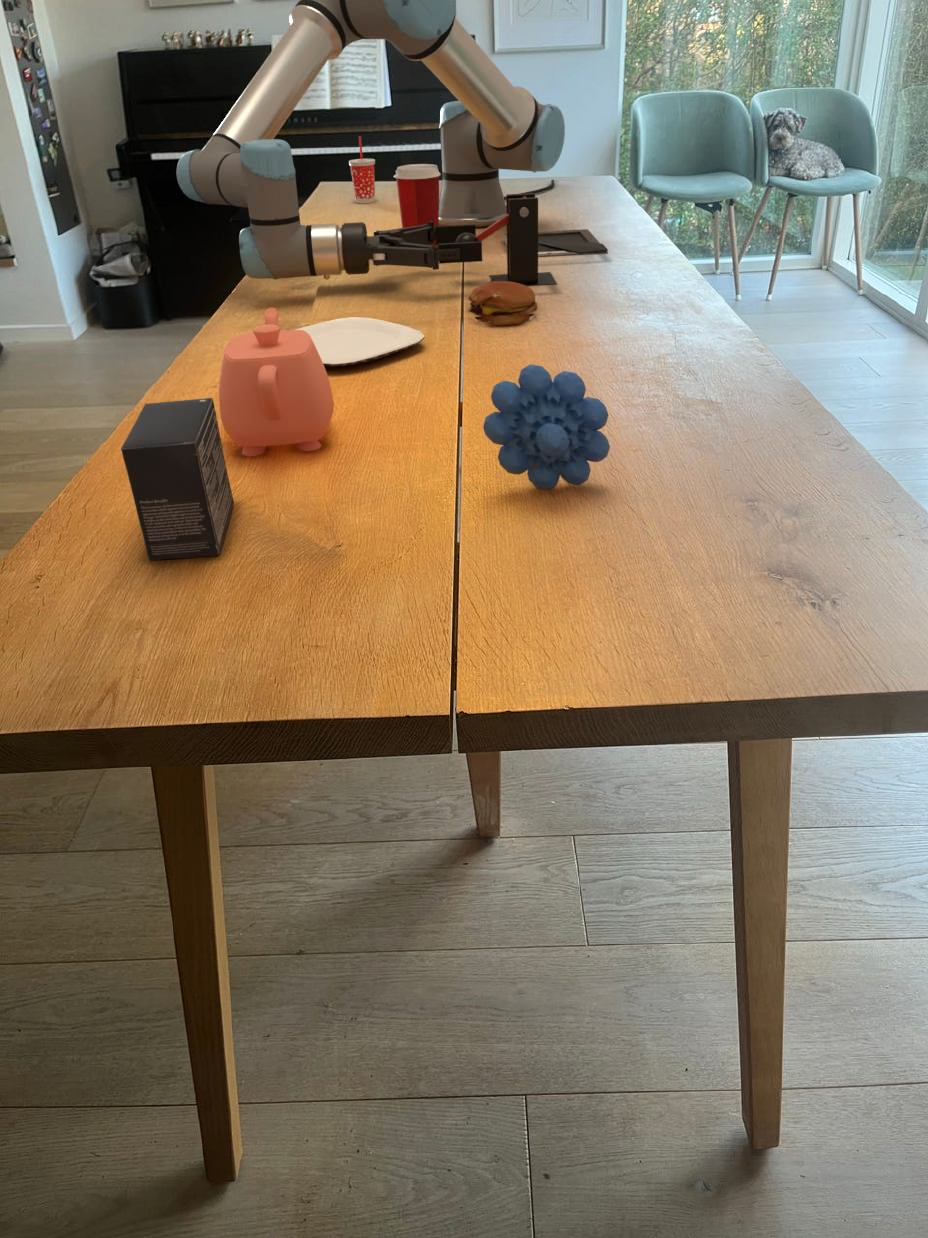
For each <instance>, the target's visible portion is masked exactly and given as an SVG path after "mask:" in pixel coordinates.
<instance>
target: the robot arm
mask: <svg viewBox="0 0 928 1238" xmlns="http://www.w3.org/2000/svg"><path fill="white" fill-rule="evenodd" d="M289 23H290V25H288V27H287V29H286V30H285V32H284V33H283V35H282V36H281V37H280V39H279V40H278V42H277V43H276V44H275V46H274V47H273V48H272V50H271V52H270V53H269V54H268V56H267V58H266V59H265V60H264V61H263V63H262V65H261V66H260V68H259V69H258V70H257V71H256V73H255V75H254V76H253V77H252V79H251V80H250V82H249V83H248V85H247V86H246V88H245V89H244V90H243V92H242V93H241V95H240V96H239V97H238V99H237V100H236V101H235V103H234V104H233V106H232V107H231V109H230V110H229V111H228V113H227V114H226V116H225V118H224V119H223V121H222V122H221V123H220V125H219V126H218V128H217V129H216V130H215V132H214V133H213V134H212V136H211V137H210V139H209V140H208V141H207V142H206V144H205V145H204V147H203V148H202V149H199V148H196V149H193V150H188V151H187V152H185V153H183V154H182V155H181V157H180V158H179V160H178V162H177V166H176V179H177V184H178V186H179V188H180V190H181V191H182V192H183V194H184V195H185V196H186V197H187V198H189V199H190V200H192V201H195V202H200V203H204V204H206V205H223V206H233V207H240V208H248V216H249V222H250V224H249V225H250V226H248V227H245V228H242V229H240V231H239V236H238V245H239V255H240V261H241V266H242V269H243V271H244V273H245V275H246V276H247V277H249V278H250V279H257V280H258V279H260V280H261V279H267V280H268V279H271V280H279V279H291V278H292V279H293V278H309V277H320V276H323V279H325V280H329V279H330V278H331V276H340V275H342V274H343V271H345V274H347V275H348V276H350V275H366V274H369V272H370V260H371V261H372V265H373V266H377V267H379V266H399V267H414V268H415V267H416V268H417V267H418V268H430V269H432V270H433V271H435V270H436V271H437V270H439V269H440V265H441V264H456V263H474V262H475V263H476V262H483V241H480V242H461V243H455V241H456V239H457V237H458V236H459V235H461V234H463V233H472V234H474V235H475V236H476V235H477V228H485V227H486V228H487V227H489V226H491V225H492V224H494V223H495V222H497V221H498V220H499V219H501V218H502V217H504V216H505V215H506V195H505V196H504V193H503V190H502V186H501V183H500V170H507V171H521V172H523V171H524V172H532V173H534V174H535V173H538V172H548V171H550V170H551V169H553V168H554V166H556V164H557V163H558V161H559V159H560V157H561V154H562V151H563V148H564V144H565V136H566V135H565V134H566V133H565V132H566V124H565V117H564V115H563V113H562V110H561V109H560V108H559V107H558V106H557V105H554V104H551V103H546V104H541V103H540V102H538V100H537V99H536V98H535V97H534V96H533V94H532V93H531V92H530V91H529V90H527V89H526V88H524V87H523V86H514V85H513V84H512V83H511V81H510V80H509V79H508V78H507V77H506V75H504V74H503V71H501V70H500V69H499V67H498V66H497V65H496V64H495V63H494V61H493V60H492V58H490V56H488V54H487V53H486V52H485V51H484V50H483V48H482V47H481V46H480V45H479V43H478V42H477V41H476V39H474V38H473V36H472V35H471V34H470V33H469V32H468V31H467V30H466V28H465V27H464V25H463V24H462V23H461V22H460V21H459V20H458V18H457V0H298V1H297V2H296V4H295V5H294V6H293V8H292V10H291V11H290V13H289ZM361 40H385V41H388V43H390V44H391V45H393V47H394V48H395V49H396V50H397V51H398V52H399V53H400V54H401V55H402V56H403V57H404V58H406V59H407V60H409V61H413V62H419V61H421V62H422V63H423V64H424V65H425V66H426V68H428V69H429V70H430V72H431V73H432V74H433V75H434V76H435V77H436V78H437V79H438V80H439V82H441V83H442V85H444V87H445V88H446V89H447V90H449V92H450V93H451V94H452V95H453V96H454V97H455V99H457V100H455V101H450V102H446V103H444V104H443V105H442V106H441V108H440V113H439V115H440V116H439V119H440V120H439V127H438V128H439V135H440V136H439V137H440V153H441V170H442V171H441V172H442V186H441V189H440V193H439V226H435V227H434V222H433V221H429V222H428V224H425V225H419V226H412V227H405V228H402V227H400V228H393V229H392V228H391V229H383V230H377V229H376V230H374V231H373V235H371V236H368V230H367V225H366V223H365V222H363V221H362V222H361V221H359V222H358V221H357V222H344V223H343V224H341V226H339V225H338V223H336V222H332V223H316V224H313V223H312V224H306V225H305V224H301V217H300V208H299V198H298V190H297V189H298V188H297V179H296V173H297V172H296V168H295V165H294V160H293V159H294V158H293V154H292V148H291V146H290V144H289V143H288V142H287V141H286V140H284V139H277V138H276V136H277V135H278V133H279V132H280V130H281V128H282V127H283V126H284V124H285V123H286V121H287V120H288V118H289V117H290V116H291V115H292V113H293V111H294V110H295V109H296V107H297V106H298V104H299V102H301V100H302V98H303V97H304V95H305V94H306V93H307V91H308V90H309V88H310V87H311V85H313V82H314V81H315V79H316V78H317V77H318V75H319V74H320V73H321V71H322V69H323V68H324V67H325V65H326V64H327V62H328V61H332V60H335V59H338V58H339V56H340V55H341V54H342V52H343V51H344V50H345V49H346V47H347V46H348V45H350V44H352V43H355V42H357V41H361ZM554 187H555V180H554V179H551V180H550V185H548V186H545V187H542V188H537V189H534V190H529V191H525V192H519V193H518V194H526V193H535V195H536V194H540V193H543V192H546V191H549V190H551V189H553V188H554ZM435 240H436V245H438V246H435V245H433V246H432V245H428V244H433V243H435Z"/></svg>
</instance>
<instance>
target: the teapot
mask: <svg viewBox="0 0 928 1238" xmlns="http://www.w3.org/2000/svg"><path fill="white" fill-rule="evenodd" d="M325 367H326V366H324V365H323V362H322V360H321V358H320V356H319V353H318V351H317V349H316V347H315V345H314V343H313V341H312V339H311V337H310V335H309V334H308V333H307V332H305V331H303V330H296V329H283V330H281V327H280V321H279V314H278V310H277V308H275V307H269V308H267V309H266V310H265V314H264V324H261V325H257V326H255V327H253V328H252V332H248V333H247V332H246V333H241V334H236V335H233V336H232V337H231V338H229V341H228V342H227V343H226V345H225V348H224V351H223V355H222V361H221V367H220V375H219V380H218V381H219V382H218V407H219V414H220V420H221V423H222V425H223V428H224V430H225V431H226V433H227V435H228V436H229V438H230V439H231V441H232V442H233V443H234V444H235V445H236V446H239V447H243V448H242V451H241V454H242V455H243V456H248V457H254V456H259V455H263V454H264V453H265V451H266V446H267V447H268V446H280V445H290V444H296V446H297V448H298V450H300V451H303V452H311V451H316V450H318V449H320V448H321V447H322V445H321V443H320V441H319V440H320V439H321V438H323V437H324V436H325V434H326V433H327V431H328V428H329V426H330V424H331V420H332V417H333V414H334V409H335V408H334V407H335V404H334V396H333V391H332V386H331V382H330V379H329V376H328V372H327V369H326V368H325Z"/></svg>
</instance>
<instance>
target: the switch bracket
mask: <svg viewBox="0 0 928 1238" xmlns="http://www.w3.org/2000/svg"><path fill="white" fill-rule="evenodd" d="M505 196H506V200H505V204H506V215H507V214H508V213H509V223H508V224H506V233H507V246H506V273H503V274H489V275H488V277H489V279H490V282H493V281H509V282H515V283H520V284H523V285H526V286H528V287H538V286H539V287H540V286H557V285H558V283H557V281H556V280H555V278H554V276H553V274H552V272H551V271H544V272H539V257H538V254H539V252H538V232H539V197H536V194H535V193H526V194H519V193H508V194H506V195H505ZM524 196H526V198H522V197H524Z"/></svg>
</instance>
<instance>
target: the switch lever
mask: <svg viewBox="0 0 928 1238" xmlns="http://www.w3.org/2000/svg"><path fill="white" fill-rule="evenodd" d="M522 198H526V196H524V197H522ZM508 223H509V213H508V214H507V215H505V216H504V217H502V218H501V219H499V220H498V221H497V222H495V223H494V224H492V225H491V226H487V227H486V228H484V229H483V230H482V231H481V232H479V233H478V234H476V236H475V235H474V234H472V233H463V234H461V235H459V236H458V237H457V239H456V241H455V243H461V242H480V241H481V242H483V241H484V240H486V239H487V238H489V237H490V236H492V235H493V234H494V233H496V232H498V231H499V230H500V229H503V227H505V226H507V224H508Z"/></svg>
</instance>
